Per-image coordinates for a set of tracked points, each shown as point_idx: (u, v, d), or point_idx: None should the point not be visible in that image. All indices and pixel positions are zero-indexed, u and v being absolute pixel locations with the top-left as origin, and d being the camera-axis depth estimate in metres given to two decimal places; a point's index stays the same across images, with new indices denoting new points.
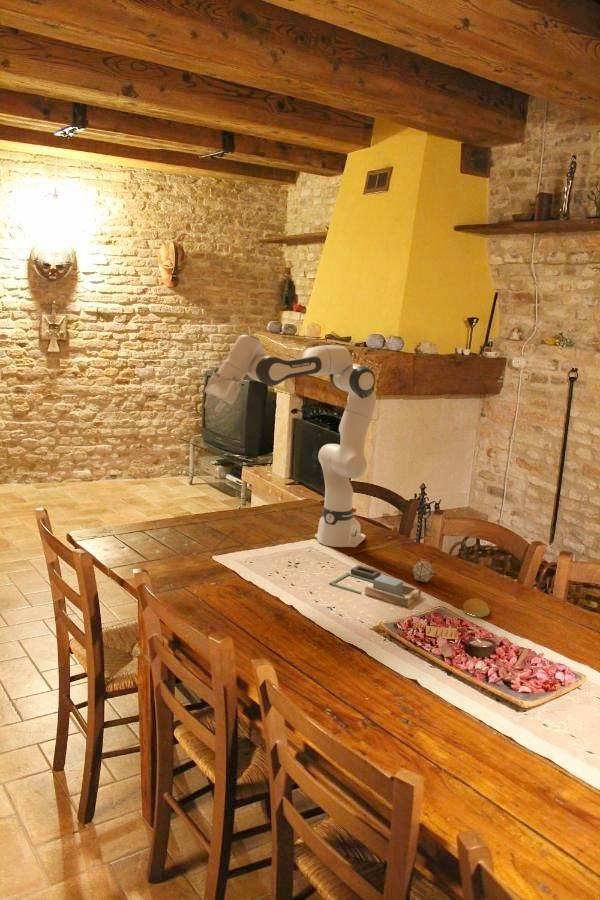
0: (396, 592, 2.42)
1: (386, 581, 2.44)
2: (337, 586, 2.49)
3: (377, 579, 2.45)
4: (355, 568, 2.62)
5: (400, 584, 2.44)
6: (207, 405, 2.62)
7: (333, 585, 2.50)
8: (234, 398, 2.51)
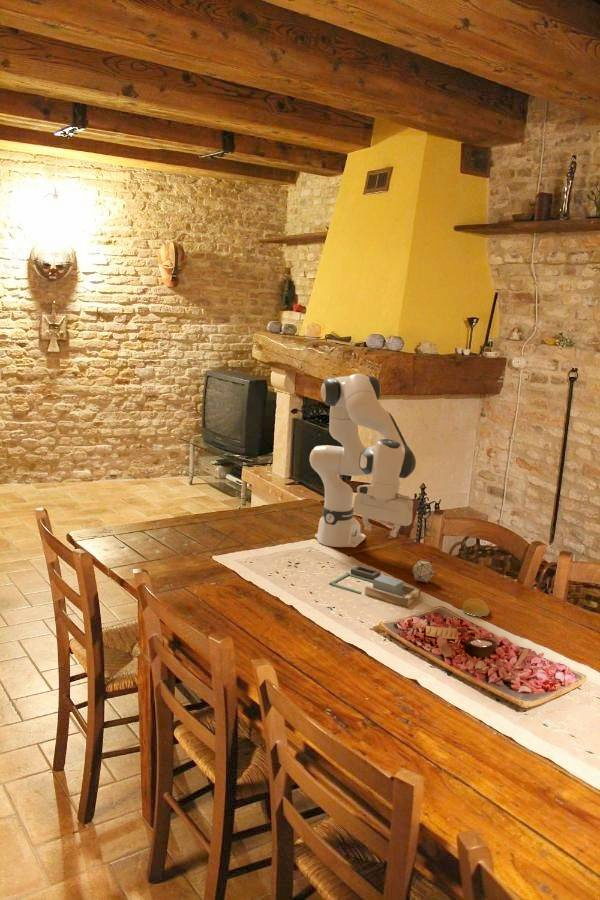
0: (395, 592, 2.42)
1: (386, 581, 2.44)
2: (337, 586, 2.49)
3: (377, 579, 2.46)
4: (355, 568, 2.62)
5: (400, 584, 2.44)
6: (369, 528, 2.37)
7: (333, 585, 2.50)
8: (411, 518, 2.29)
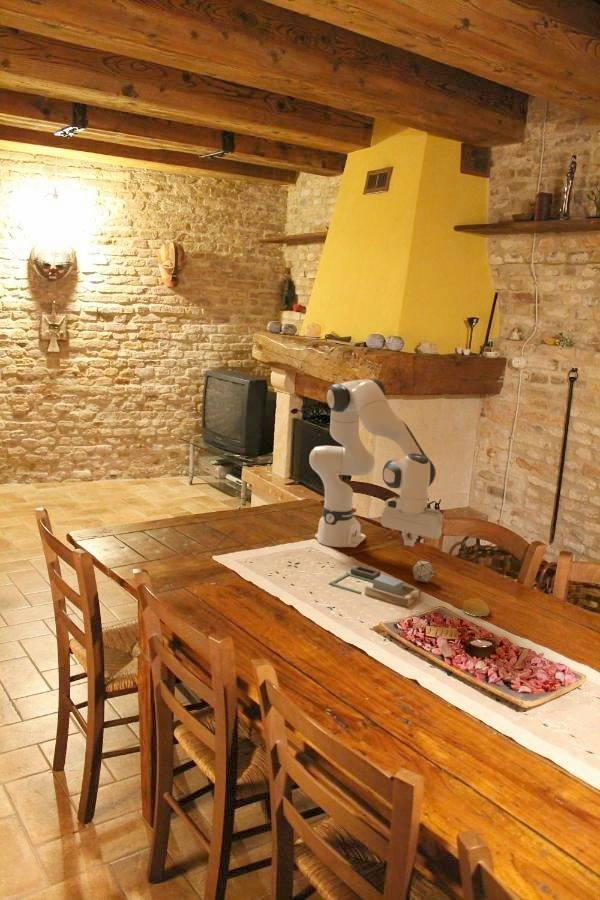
0: (395, 593, 2.42)
1: (386, 581, 2.44)
2: (337, 586, 2.49)
3: (377, 579, 2.46)
4: (355, 568, 2.62)
5: (400, 584, 2.44)
6: (408, 543, 2.39)
7: (333, 585, 2.50)
8: (441, 531, 2.34)
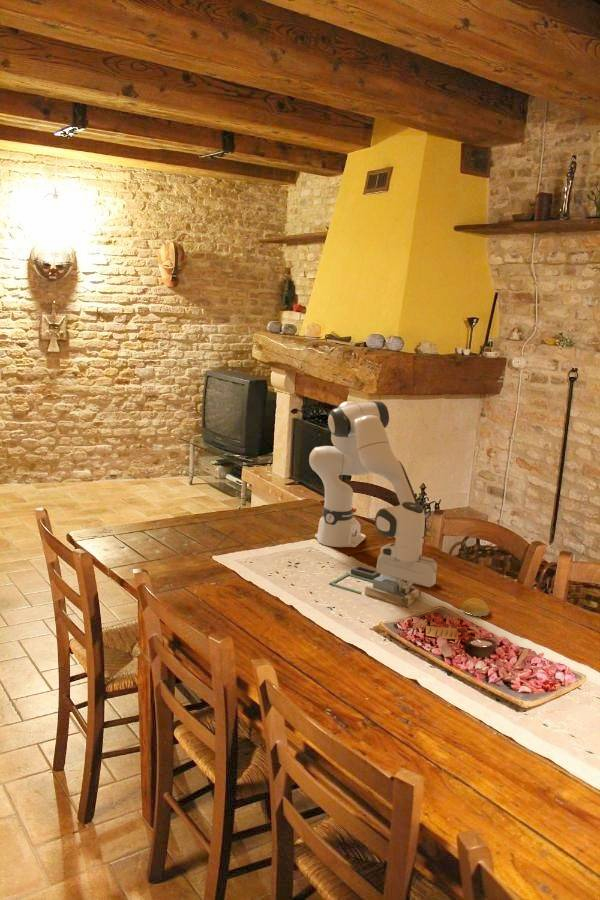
0: (395, 593, 2.42)
1: (386, 581, 2.44)
2: (337, 586, 2.49)
3: (377, 579, 2.46)
4: (355, 568, 2.62)
5: None
6: None
7: (333, 585, 2.50)
8: (435, 579, 2.37)
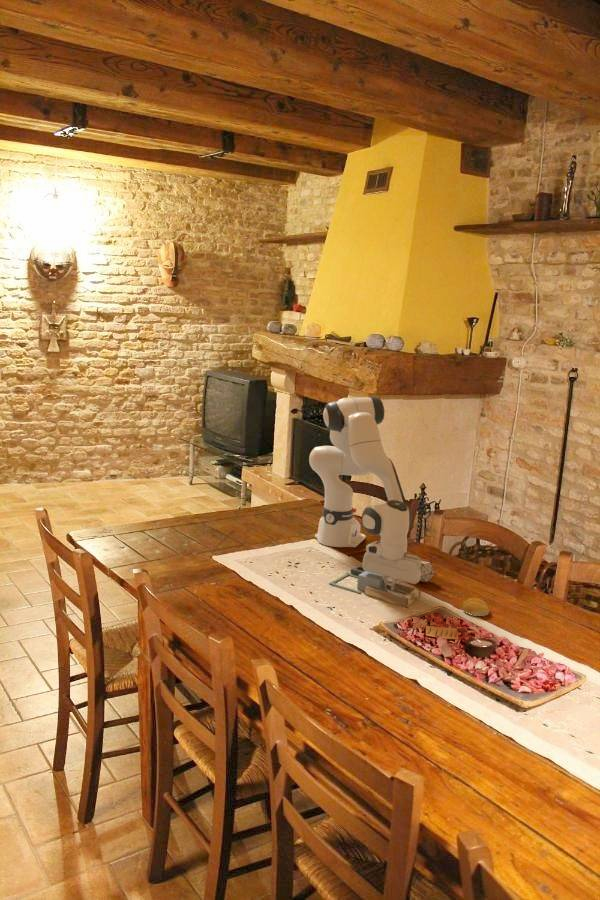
0: (380, 588, 2.45)
1: (370, 576, 2.47)
2: (337, 586, 2.49)
3: (362, 574, 2.48)
4: (355, 568, 2.62)
5: None
6: None
7: (333, 585, 2.50)
8: (420, 576, 2.40)
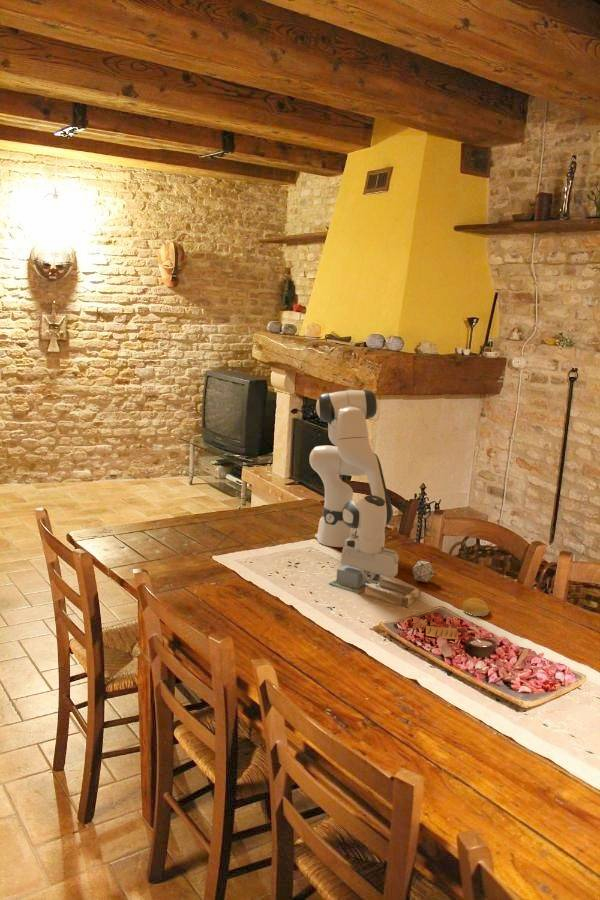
0: (359, 581, 2.50)
1: (349, 570, 2.51)
2: (337, 586, 2.49)
3: (340, 568, 2.52)
4: None
5: None
6: None
7: (333, 585, 2.50)
8: (397, 570, 2.44)
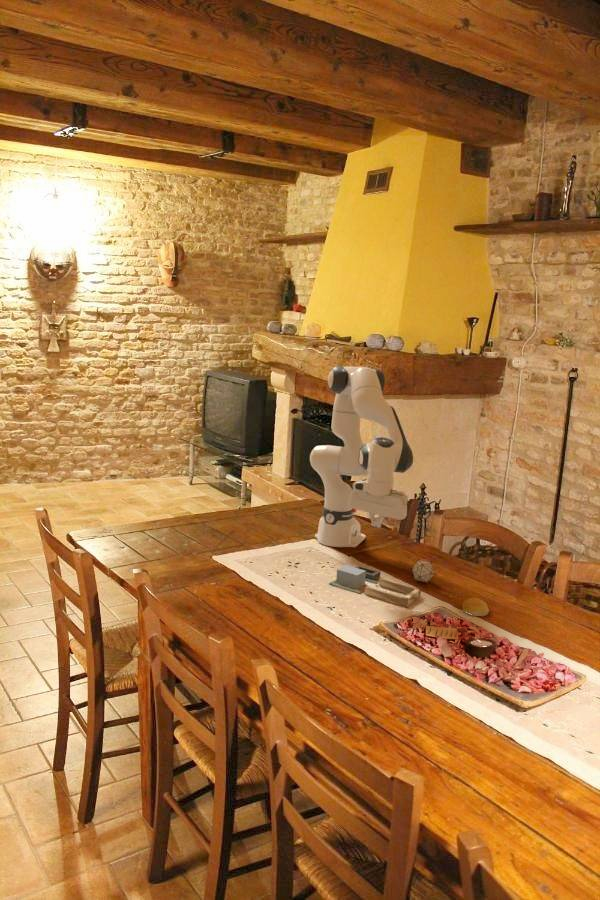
0: (358, 582, 2.49)
1: (349, 571, 2.51)
2: (337, 586, 2.49)
3: (340, 569, 2.52)
4: None
5: (363, 574, 2.51)
6: None
7: (333, 585, 2.50)
8: (406, 512, 2.42)
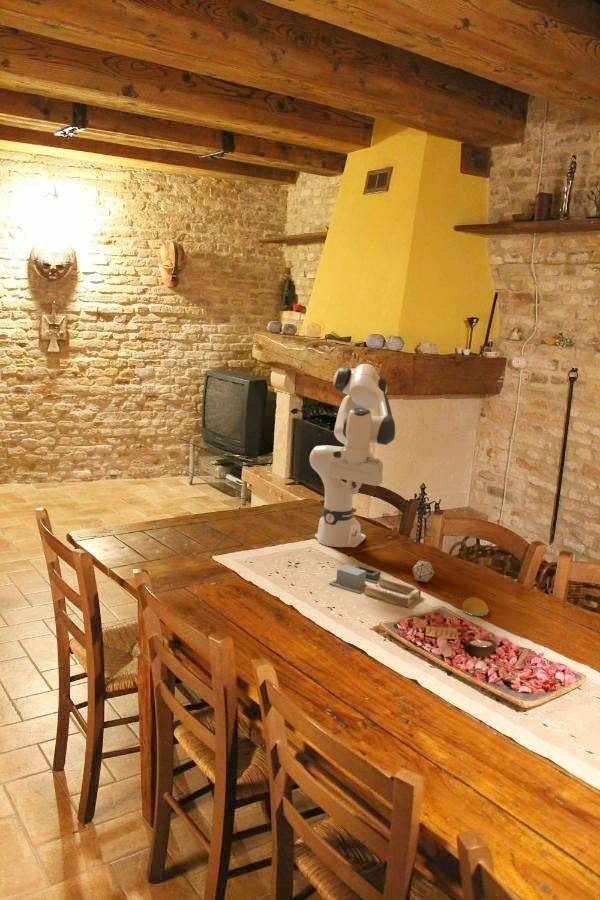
0: (358, 582, 2.49)
1: (349, 571, 2.51)
2: (337, 586, 2.49)
3: (340, 569, 2.52)
4: None
5: (363, 574, 2.51)
6: None
7: (333, 585, 2.50)
8: (381, 479, 2.52)
